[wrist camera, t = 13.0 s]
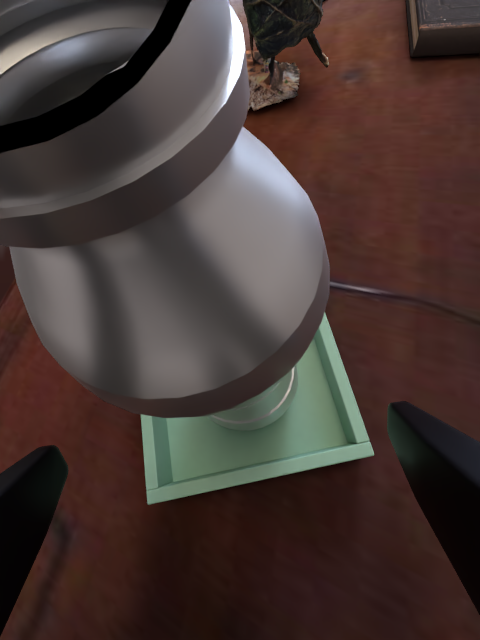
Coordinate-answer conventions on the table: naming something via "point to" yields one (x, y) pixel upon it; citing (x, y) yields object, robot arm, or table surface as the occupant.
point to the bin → (260, 435)
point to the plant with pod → (278, 46)
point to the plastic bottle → (153, 209)
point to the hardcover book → (443, 27)
